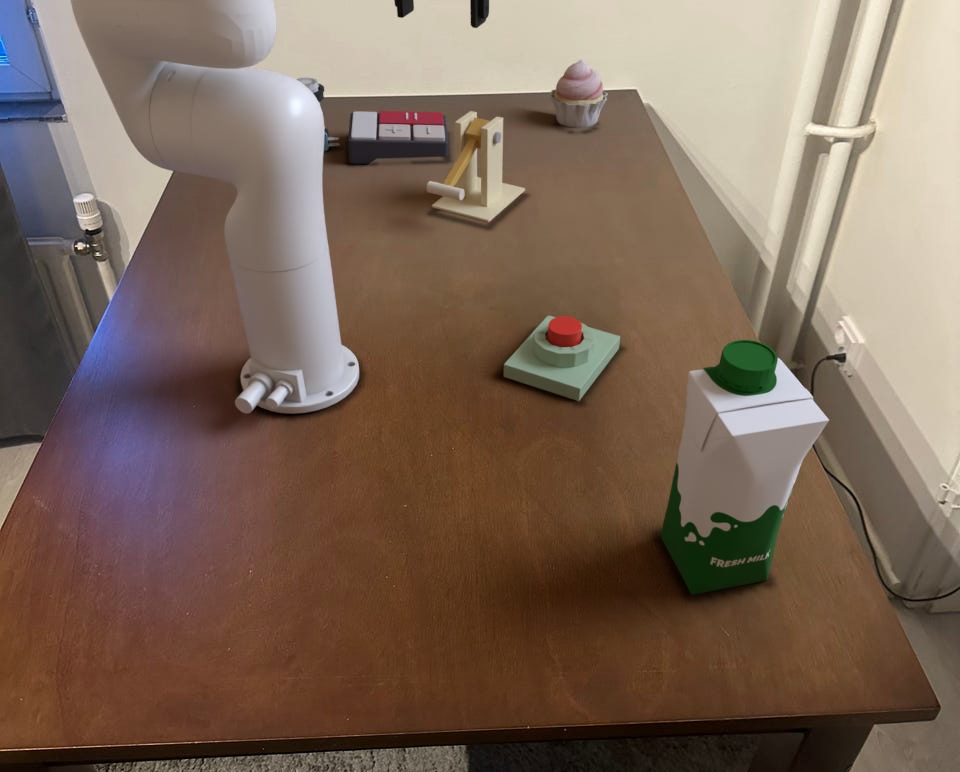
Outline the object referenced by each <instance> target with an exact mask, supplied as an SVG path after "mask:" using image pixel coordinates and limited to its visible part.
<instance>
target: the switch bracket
mask: <svg viewBox="0 0 960 772" xmlns="http://www.w3.org/2000/svg"><path fill="white" fill-rule="evenodd" d="M474 118H478V112H477V111H473V110H470V111H468V112H467V113H465V114H464V115H462V116H461V117H459V118H458V119H457V120H456V121H454V159H455V160H454V164H455V163H456V161H457V159H458V158H459V156H460V154H461V153H462V151H463V149H464V147H465V146H466V144H467V142H468V140H467V137H466V131H467V129H468V128H469V126H470V124H471V123H472V121H473V119H474ZM503 146H504V117H501V116H495V117H494V118H493V119H491V120H489V123H487V124H486V125H485V126H483V127H482V128H481V149H480V177H479V176H478V148H476V150H475V152H474V154H473V155H472V157H471V159H470V160H469V162H468V164H467V166H466V167H465V169H464V171H463V172H462V174H461V176H460V178H459V179H458V181H457V183H456V184H455V187H457V188H461V189H464V192H465V194H464V198H463V200H461V201H460V200H456V199H452V198H448V197H445V196H441V197H440V198H439V199H437V201H435V202H434V203H433V204H431V208H432V209H436V210H439V211H444V212H447V213H451V214H456V215H459V216H463V217H467V218H471V219H474V220H479V221H482V222H486V223H490V222H491V221H492V220H493V219H494V218H496V216H498V215H499V214H500V213H501V212H502V211H504V209H505V208H507V207H508V206H510V204H511V203H512V202H514V201H515V200H516V199H517V198H518V197H519V196H520V195H521V194H523V193H524V192H525V191H526V188H525V187H523V186H517V185H513V184H510V183H505V182H503V161H504V160H503V159H504V158H503V153H504V152H503V151H504V149H503V148H504V147H503Z"/></svg>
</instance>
